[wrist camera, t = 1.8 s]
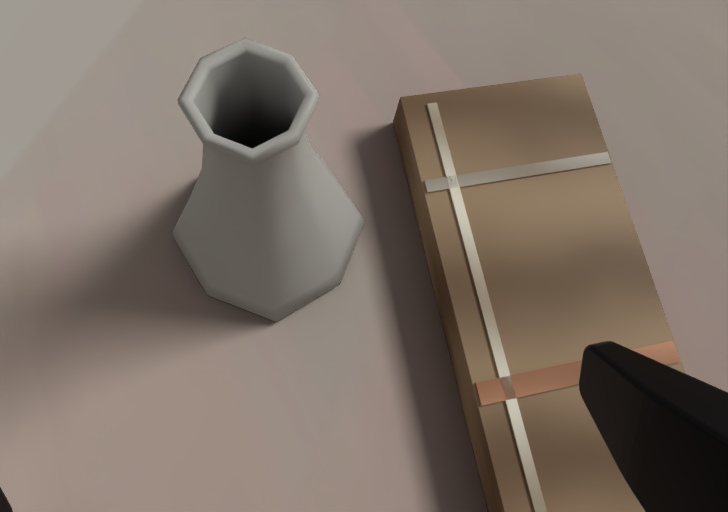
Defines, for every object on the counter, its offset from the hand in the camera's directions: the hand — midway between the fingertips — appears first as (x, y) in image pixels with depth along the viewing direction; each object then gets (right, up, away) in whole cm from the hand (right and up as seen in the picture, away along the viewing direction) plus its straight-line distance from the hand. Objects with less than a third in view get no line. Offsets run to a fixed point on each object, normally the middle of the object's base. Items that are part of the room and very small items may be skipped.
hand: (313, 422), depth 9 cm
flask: (-3, +4, +15) cm, 16 cm away
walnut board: (+8, +1, +15) cm, 17 cm away
